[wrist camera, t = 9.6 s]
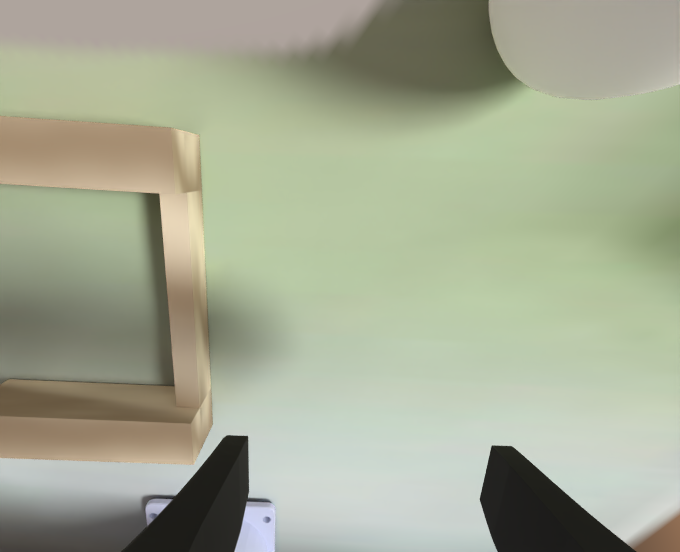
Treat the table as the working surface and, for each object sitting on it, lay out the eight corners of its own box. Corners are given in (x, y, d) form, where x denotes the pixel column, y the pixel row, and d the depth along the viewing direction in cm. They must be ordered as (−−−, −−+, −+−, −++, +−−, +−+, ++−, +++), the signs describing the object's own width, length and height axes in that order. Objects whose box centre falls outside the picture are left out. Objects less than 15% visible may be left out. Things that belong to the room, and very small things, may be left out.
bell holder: (212, 424, 21) (193, 464, 18) (17, 416, 21) (-34, 456, 18) (199, 134, 17) (170, 127, 14) (-52, 118, 16) (-135, 107, 13)
